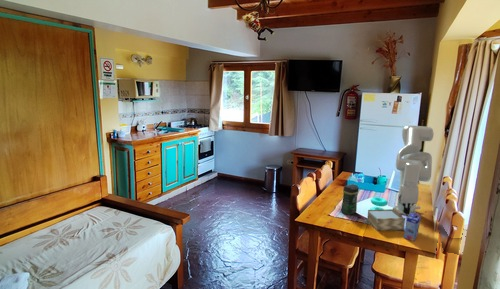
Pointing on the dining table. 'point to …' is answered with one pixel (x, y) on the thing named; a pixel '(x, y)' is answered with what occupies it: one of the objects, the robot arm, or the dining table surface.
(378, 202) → the donuts
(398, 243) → the dining table surface
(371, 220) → the birch box
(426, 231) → the dining table surface
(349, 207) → the coffee jar
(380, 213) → the cover plate
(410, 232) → the ink cartridge box
